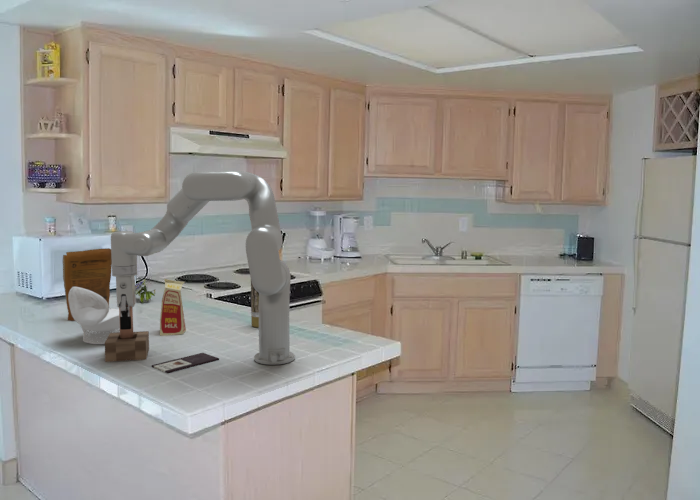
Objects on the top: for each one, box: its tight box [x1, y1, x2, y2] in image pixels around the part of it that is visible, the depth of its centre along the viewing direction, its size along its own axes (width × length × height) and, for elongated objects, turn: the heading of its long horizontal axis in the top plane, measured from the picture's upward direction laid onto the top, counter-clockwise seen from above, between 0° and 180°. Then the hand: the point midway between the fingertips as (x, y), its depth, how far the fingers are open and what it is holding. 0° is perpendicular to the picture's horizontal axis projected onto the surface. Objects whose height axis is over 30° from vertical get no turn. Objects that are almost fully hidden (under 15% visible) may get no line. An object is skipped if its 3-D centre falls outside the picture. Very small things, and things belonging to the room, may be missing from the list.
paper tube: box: [250, 281, 259, 328], centre depth 232 cm, size 7×7×25 cm
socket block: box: [104, 330, 150, 363], centre depth 194 cm, size 12×12×6 cm
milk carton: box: [159, 278, 187, 337], centre depth 223 cm, size 9×9×20 cm
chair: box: [68, 287, 120, 345], centre depth 211 cm, size 20×20×20 cm
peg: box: [118, 305, 134, 339], centre depth 193 cm, size 4×4×12 cm
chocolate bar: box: [151, 352, 220, 374], centre depth 187 cm, size 9×1×18 cm
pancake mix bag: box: [62, 247, 112, 322], centre depth 242 cm, size 7×19×28 cm, turn 125°
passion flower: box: [135, 278, 156, 304], centre depth 278 cm, size 11×11×12 cm
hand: (126, 326), depth 194 cm, fingers closed on peg, 4 cm apart
